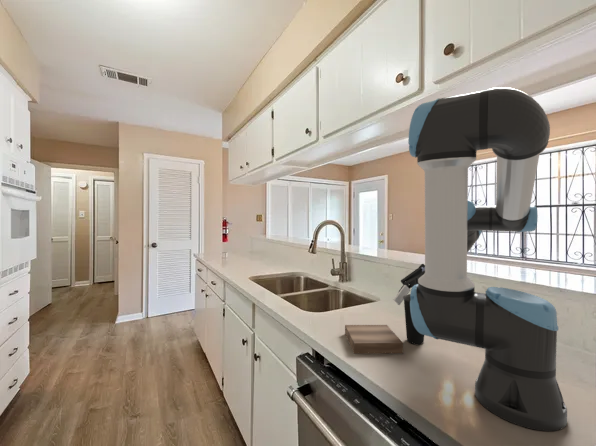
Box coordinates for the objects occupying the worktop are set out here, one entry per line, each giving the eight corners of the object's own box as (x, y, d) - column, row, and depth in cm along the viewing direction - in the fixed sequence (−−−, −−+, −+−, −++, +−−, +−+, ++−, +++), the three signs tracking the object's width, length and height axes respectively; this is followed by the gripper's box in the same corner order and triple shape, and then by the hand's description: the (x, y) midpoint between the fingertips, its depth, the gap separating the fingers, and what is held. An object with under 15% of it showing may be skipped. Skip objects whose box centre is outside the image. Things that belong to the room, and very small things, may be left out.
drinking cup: (425, 349, 86) (426, 281, 85) (398, 342, 90) (399, 278, 90) (431, 340, 92) (432, 277, 91) (406, 334, 96) (407, 274, 96)
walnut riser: (402, 353, 83) (403, 343, 83) (354, 353, 82) (354, 343, 82) (386, 333, 97) (386, 324, 97) (344, 333, 96) (345, 324, 96)
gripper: (490, 272, 85) (451, 330, 80) (424, 260, 108) (391, 304, 103) (478, 255, 83) (437, 313, 78) (413, 246, 106) (379, 291, 101)
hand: (411, 308), depth 90 cm, fingers open, 13 cm apart
